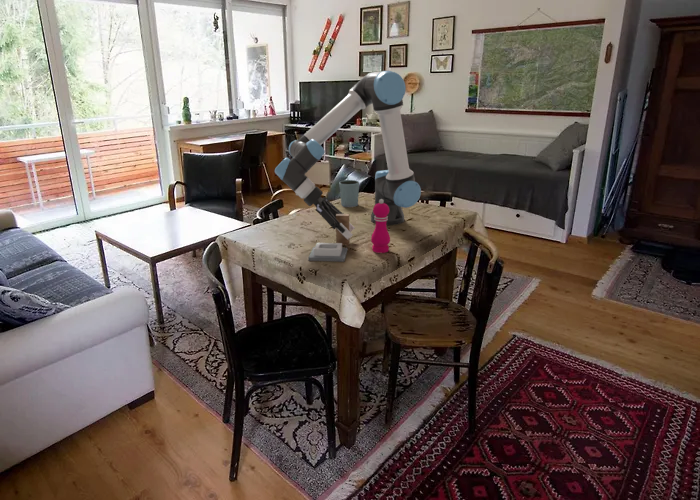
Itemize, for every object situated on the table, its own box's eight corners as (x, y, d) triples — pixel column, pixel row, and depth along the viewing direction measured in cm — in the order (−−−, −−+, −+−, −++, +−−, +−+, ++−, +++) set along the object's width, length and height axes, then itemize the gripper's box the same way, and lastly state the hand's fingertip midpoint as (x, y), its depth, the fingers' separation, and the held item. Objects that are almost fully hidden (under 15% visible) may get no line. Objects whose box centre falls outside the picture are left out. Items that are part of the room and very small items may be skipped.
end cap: (347, 250, 177) (347, 241, 176) (344, 261, 167) (344, 251, 165) (313, 249, 178) (313, 240, 177) (308, 260, 168) (308, 251, 166)
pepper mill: (369, 247, 180) (370, 196, 173) (388, 246, 181) (389, 196, 174) (372, 254, 173) (372, 201, 166) (391, 253, 174) (392, 201, 167)
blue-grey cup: (363, 204, 240) (363, 181, 235) (350, 208, 233) (350, 185, 228) (348, 201, 246) (348, 179, 242) (335, 205, 239) (334, 182, 235)
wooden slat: (349, 243, 185) (349, 214, 181) (348, 245, 183) (348, 215, 178) (337, 242, 185) (336, 213, 181) (336, 244, 183) (335, 215, 179)
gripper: (307, 192, 189) (347, 231, 193) (297, 206, 169) (341, 249, 174) (320, 180, 186) (360, 219, 191) (311, 192, 167) (356, 235, 171)
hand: (351, 233), depth 182 cm, fingers open, 8 cm apart
